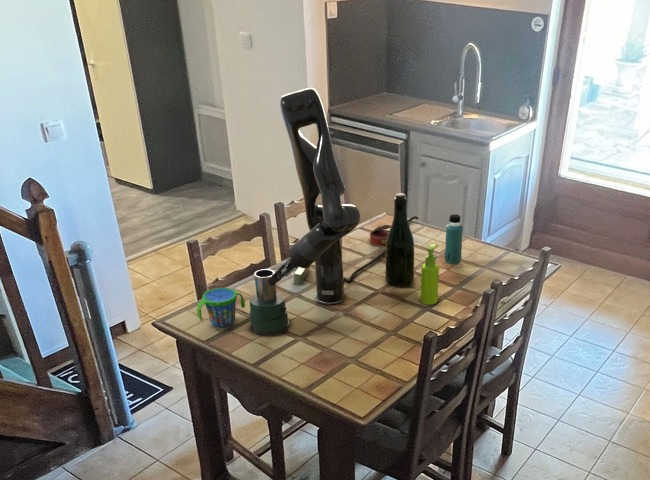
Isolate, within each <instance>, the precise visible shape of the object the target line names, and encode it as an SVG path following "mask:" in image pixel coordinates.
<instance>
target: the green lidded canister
mask: <svg viewBox="0 0 650 480" xmlns="http://www.w3.org/2000/svg"><path fill="white" fill-rule="evenodd" d="M276 294H277V299H276V300H275V301H274V302H272V303H261V302H259V301H258V300H257V293H255V294H253V295H251V297H250V299H249V301H248V302H249V312H248V314H249V315H248V316H249V320H250V321H249V322H250V323H249V328H250V331H251V332H252V333H253V334H254V335H256V336H260V337H275V336H279V335H281V334H283V333H286V331H288V330H289V328H290V320H289V316H288V313H289V311H288V308H287V306H286V298H285V296H284V294H282V293H281V292H277V291H276Z"/></svg>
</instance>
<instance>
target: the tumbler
mask: <svg viewBox="0 0 650 480" xmlns="http://www.w3.org/2000/svg"><path fill="white" fill-rule="evenodd" d="M274 273H275V271H274V270H272V269H268V268H264V269H263V268H262V269H259V270H256V271H255V272H254V273H253V274H254V284H255V285H254V286H255V292H256V293H255V294H257V300H258V301H259V302H261V303H272V302H274V301H275V300H276V299H277V294H276V292H277V286H276V284H277V283H276V284H275V285H274V286H271V285H270V284H269V283H268V280H269V279H270V278H271V276H272V275H273V274H274Z"/></svg>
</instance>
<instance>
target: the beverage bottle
mask: <svg viewBox="0 0 650 480" xmlns="http://www.w3.org/2000/svg"><path fill="white" fill-rule="evenodd" d="M448 222H449V223H448V224H447V225H446V226H445V228H446V229H445V245H444V246H445V248H444V262H445V263H446V264H448V265H459V264H460V263H461V262H462V259H463V258H462V250H463V248H462V247H463V229H464V227H463V225H462V224H461V215H460V214H457V213H452V214H450V215H449V219H448Z"/></svg>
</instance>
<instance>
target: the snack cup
mask: <svg viewBox="0 0 650 480" xmlns="http://www.w3.org/2000/svg"><path fill="white" fill-rule="evenodd" d="M238 296H239V297H240V303H239V304H240V307H241V308H243V309H244V308H245V307H246V302H245V298H244V296H243V295H242V294H241V293H240V292H238V291H236V290H234V289H231V288H229V287H216V288H212V289H209V290H206V291H205V292H204V293H203V294H202V298H201V299H200V301H199V302H198V303H197V307H196V313H197V317H198V319H199V320H200V321H204V320H203V316H202V307H203V306H204V305H205V308H206V311H207V314H208V317H209V321H210V323H211V325H212V326H213V327H217V328H227V327H230V326H231V325H234V324H235V321H236V306H237V305H236V303H237V299H238Z"/></svg>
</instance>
